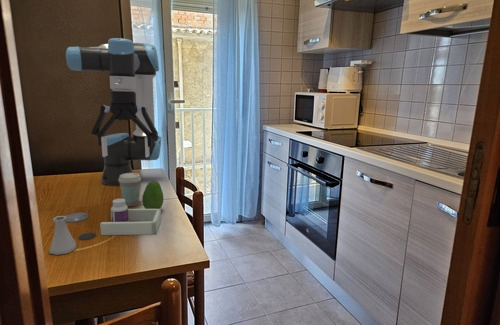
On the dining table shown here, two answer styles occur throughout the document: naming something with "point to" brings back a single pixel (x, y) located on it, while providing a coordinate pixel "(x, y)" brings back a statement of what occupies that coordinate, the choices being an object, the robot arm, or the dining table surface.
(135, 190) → the coffee cup
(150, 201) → the fruit
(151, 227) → the frame
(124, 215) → the pill bottle
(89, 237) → the hole pad
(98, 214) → the dining table surface
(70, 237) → the flask
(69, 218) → the coaster
